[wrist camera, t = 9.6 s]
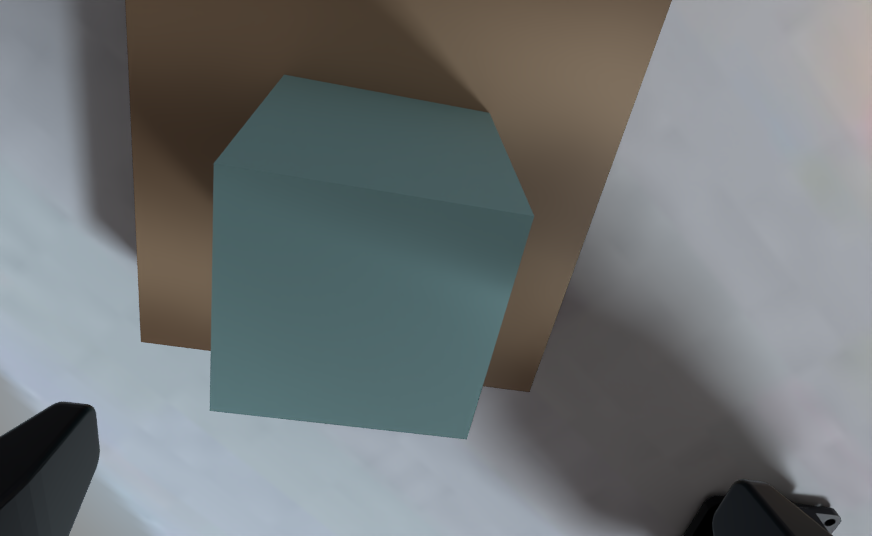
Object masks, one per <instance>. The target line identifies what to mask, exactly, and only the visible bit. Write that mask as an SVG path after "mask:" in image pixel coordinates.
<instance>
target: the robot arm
mask: <svg viewBox="0 0 872 536" xmlns="http://www.w3.org/2000/svg"><path fill="white" fill-rule="evenodd" d="M99 453H100V447H99V438H98V428H97V418H96V412H95V409H94V408H93V407H92V406H91V405H89V404H81V403H72V402H58V403H55V404H53V405H51V406H50V407H48V408H46V409H45V410H43V411H41V412H40V413H38V414H36V415H35V416H33V417H31V418H30V419H28V420H27V421H25V422H23V423H22V424H20V425H19V426H17V427H15V428H14V429H12V430H10V431H9V432H7V433H5V434H4V435H2V436H0V536H69V533H70V531H71V528H72V526H73V524H74V521H75V519H76V516H77V514H78V512H79V509H80V506H81V504H82V502H83V499H84V497H85V494H86V492H87V490H88V487H89V485H90V482H91V480H92V477H93V475H94V473H95V470H96V467H97V464H98V460H99ZM840 522H841V518H840V516H839V515H838V514H837V512H836V511H835V510H834V509H832V508H827V507H818V506H809V505H800V504H793V503H792V502H791V501H789V500H788V499H787V498H786V497H785V496H783V495H782V494H781V493H780V492H778V491H777V490H776V489H775V488H773V487H772V486H771V485H769V484H768V483H765V482H762V481H753V480H745V479H741V480H738V481H736V482H735V483H734V484H733V485H732V486H731V488H730V490H729V491H728V493H727V494H726V496H713V497H710V498H709V499H707V500H706V501H705V502H704V504H703V506H702V507H701V509H700V510H699V512H698V514H697V515H696V517H695V518H694V520H693V522H692V523H691V525H690V526H689V528H688V530H687V531H686V533H685V534H684V536H833V535H831V534H832V533H833V531H834V530H835V529H836V528H837V526H838V525H839V524H840Z"/></svg>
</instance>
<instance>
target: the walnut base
mask: <svg viewBox="0 0 872 536" xmlns="http://www.w3.org/2000/svg"><path fill="white" fill-rule="evenodd" d="M671 1H672V0H125V5H126V27H127V48H128V70H129V92H130V114H131V135H132V157H133V179H134V200H135V222H136V244H137V266H138V287H139V309H140V331H141V342H146V343H154V344H162V345H169V346H177V347H185V348H192V349H200V350H208V351H211V306H212V242H213V178H214V162H215V161H216V160H217V159H218V157H219V156H220V155H221V154H222V152H223V151H224V150H225V149H226V147H227V146H228V145H229V143H230V142H231V141H232V140H233V138H234V137H235V136H236V135H237V133H238V132H239V131H240V130H241V128H242V127H243V126H244V125H245V123H246V122H247V121H248V120H249V118H250V117H251V116H252V114H253V113H254V112H255V111H256V109H257V108H258V107H259V106H260V104H261V103H262V102H263V101H264V99H265V98H266V97H267V96H268V94H269V93H270V92H271V90H272V89H273V88H274V87H275V85H276V84H277V83H278V82H279V80H280V79H281V78H282V77H283V75H289V76H294V77H300V78H305V79H310V80H316V81H321V82H327V83H332V84H337V85H343V86H348V87H353V88H359V89H364V90H370V91H375V92H380V93H386V94H391V95H396V96H402V97H407V98H412V99H418V100H423V101H429V102H434V103H439V104H445V105H450V106H455V107H461V108H466V109H472V110H477V111H482V112H488V113H490V115H491V117H492V120H493V122H494V124H495V127H496V129H497V131H498V134H499V136H500V138H501V140H502V143H503V145H504V147H505V150H506V152H507V154H508V157H509V159H510V161H511V164H512V166H513V168H514V170H515V173H516V175H517V177H518V180H519V182H520V184H521V187H522V189H523V191H524V194H525V196H526V198H527V200H528V203H529V205H530V207H531V210H532V212H533V214H534V219H533V222H532V225H531V229H530V232H529V235H528V238H527V242H526V245H525V248H524V252H523V255H522V258H521V262H520V265H519V268H518V271H517V275H516V278H515V281H514V285H513V288H512V291H511V294H510V298H509V301H508V304H507V308H506V311H505V314H504V318H503V321H502V324H501V327H500V331H499V334H498V337H497V341H496V344H495V347H494V351H493V354H492V357H491V360H490V364H489V367H488V370H487V374H486V377H485V380H484V384H483V386H486V387H494V388H501V389H509V390H517V391H525V392H530V389H531V386H532V383H533V381H534V378H535V375H536V372H537V370H538V367H539V364H540V361H541V359H542V356H543V353H544V350H545V348H546V345H547V342H548V339H549V337H550V334H551V331H552V328H553V326H554V323H555V320H556V317H557V315H558V312H559V309H560V306H561V304H562V301H563V298H564V295H565V293H566V290H567V287H568V284H569V282H570V279H571V276H572V273H573V271H574V268H575V265H576V262H577V260H578V257H579V254H580V251H581V249H582V246H583V243H584V240H585V238H586V235H587V232H588V229H589V227H590V224H591V221H592V218H593V216H594V213H595V210H596V207H597V205H598V202H599V199H600V196H601V194H602V191H603V188H604V185H605V183H606V180H607V177H608V174H609V172H610V169H611V166H612V163H613V161H614V158H615V155H616V152H617V150H618V147H619V144H620V141H621V139H622V136H623V133H624V130H625V128H626V125H627V122H628V119H629V117H630V114H631V111H632V108H633V106H634V103H635V100H636V97H637V95H638V92H639V89H640V86H641V84H642V81H643V78H644V75H645V73H646V70H647V67H648V64H649V62H650V59H651V56H652V53H653V51H654V48H655V45H656V42H657V40H658V37H659V34H660V31H661V29H662V26H663V23H664V20H665V18H666V15H667V12H668V9H669V7H670V4H671Z"/></svg>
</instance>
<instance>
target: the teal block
mask: <svg viewBox="0 0 872 536" xmlns="http://www.w3.org/2000/svg"><path fill="white" fill-rule="evenodd" d="M533 219H534V214H533V212H532V210H531V207H530V205H529V203H528V200H527V198H526V196H525V194H524V191H523V189H522V187H521V184H520V182H519V180H518V177H517V175H516V173H515V170H514V168H513V166H512V164H511V161H510V159H509V157H508V154H507V152H506V150H505V147H504V145H503V143H502V140H501V138H500V136H499V134H498V131H497V129H496V127H495V124H494V122H493V120H492V117H491V115H490V113H488V112H482V111H477V110H472V109H466V108H461V107H455V106H450V105H445V104H439V103H434V102H429V101H423V100H418V99H412V98H407V97H402V96H396V95H391V94H386V93H380V92H375V91H370V90H364V89H359V88H353V87H348V86H343V85H337V84H332V83H327V82H321V81H316V80H310V79H305V78H300V77H294V76H289V75H283V77H282V78H281V79H280V80H279V82H278V83H277V84H276V85H275V87H274V88H273V89H272V90H271V92H270V93H269V94H268V96H267V97H266V98H265V99H264V101H263V102H262V103H261V104H260V106H259V107H258V108H257V109H256V111H255V112H254V113H253V114H252V116H251V117H250V118H249V120H248V121H247V122H246V123H245V125H244V126H243V127H242V128H241V130H240V131H239V132H238V133H237V135H236V136H235V137H234V138H233V140H232V141H231V142H230V143H229V145H228V146H227V147H226V149H225V150H224V151H223V152H222V154H221V155H220V156H219V157H218V159H217V160H216V161H215V162H214V178H213V242H212V306H211V371H210V411H217V412H226V413H235V414H244V415H253V416H262V417H271V418H280V419H289V420H298V421H307V422H316V423H325V424H334V425H343V426H352V427H361V428H370V429H378V430H387V431H396V432H405V433H414V434H423V435H432V436H441V437H450V438H459V439H467V436H468V433H469V430H470V426H471V423H472V420H473V417H474V413H475V410H476V407H477V403H478V400H479V397H480V393H481V390H482V387H483V384H484V380H485V377H486V374H487V370H488V367H489V364H490V360H491V357H492V354H493V351H494V347H495V344H496V341H497V337H498V334H499V331H500V327H501V324H502V321H503V318H504V314H505V311H506V308H507V304H508V301H509V298H510V294H511V291H512V288H513V285H514V281H515V278H516V275H517V271H518V268H519V265H520V262H521V258H522V255H523V252H524V248H525V245H526V242H527V238H528V235H529V232H530V229H531V225H532V222H533Z"/></svg>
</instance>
